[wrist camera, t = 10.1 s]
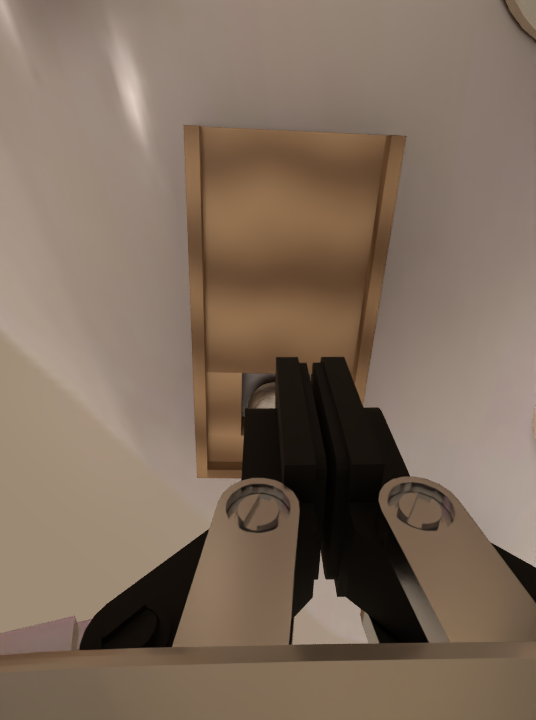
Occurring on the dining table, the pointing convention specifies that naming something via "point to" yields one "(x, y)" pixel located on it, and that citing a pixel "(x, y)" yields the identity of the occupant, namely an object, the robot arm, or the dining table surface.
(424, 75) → the dining table surface
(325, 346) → the track
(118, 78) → the dining table surface
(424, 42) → the dining table surface
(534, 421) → the honey pot
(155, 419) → the dining table surface
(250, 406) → the ball
